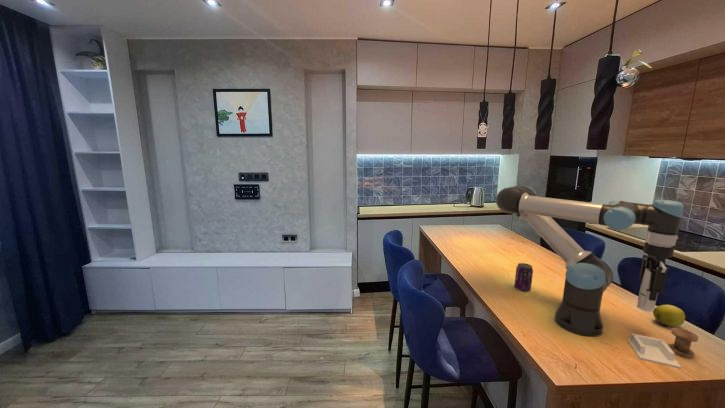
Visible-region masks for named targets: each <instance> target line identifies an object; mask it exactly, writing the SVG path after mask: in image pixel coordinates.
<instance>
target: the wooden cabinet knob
mask: <svg viewBox="0 0 725 408" xmlns="http://www.w3.org/2000/svg"><path fill="white" fill-rule="evenodd" d="M671 334H672V335H673V336H675V338H674V343H672V342H671V343H668V344H667V345H668V346H669V347H670V348H671V350H672V351H673V352H674V353H675V355H677V356H679V357H682V358H685V359H693V358H694V357H695V352H694V351H693V350H692V349H691V346H692V342H693V343H695V342H698V340H699V336H698V335H697V334H696V333H694V332H692V331H689V330H688V329H684V328H679V327H672V328H671Z"/></svg>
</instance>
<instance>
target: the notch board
mask: <svg viewBox="0 0 725 408" xmlns="http://www.w3.org/2000/svg"><path fill="white" fill-rule="evenodd" d="M627 342H628V344H629V345H630V347H631V348H632V350H633V351H634V353H635V354H636V355H637V357H638V359H639V360H644V361H647V362H651V363H656V364H657V363H658V364H660V365H661V364H662V365H665V366H669V367H674V368H678V369H682V366H681V365H680V363H679V362H678V361H677V360H676V359H675V355H676V354H675V353H674V352H673V351H672V350H671V348H670V347H669V346H668V345H669V344H667V343H666V341H665V340H664V339H660V338H656V337H650V336H645V335H641V334H637V333H631V336H630V339H629V338H627Z"/></svg>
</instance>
